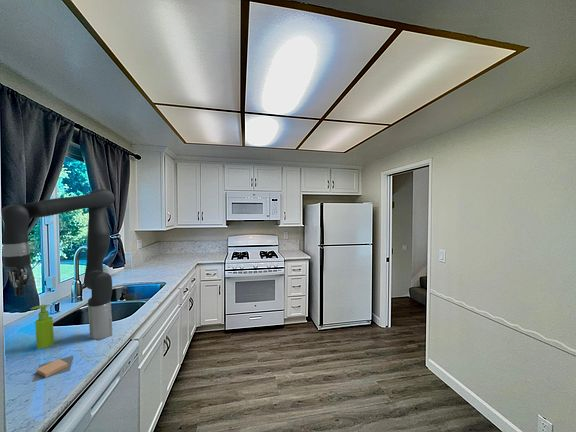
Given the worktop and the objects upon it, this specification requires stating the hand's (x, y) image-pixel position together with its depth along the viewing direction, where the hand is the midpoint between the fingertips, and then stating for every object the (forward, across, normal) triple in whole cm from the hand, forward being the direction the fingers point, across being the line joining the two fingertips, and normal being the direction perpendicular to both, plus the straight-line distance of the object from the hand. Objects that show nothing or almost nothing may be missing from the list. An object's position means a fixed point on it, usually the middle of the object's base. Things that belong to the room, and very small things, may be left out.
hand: (19, 295), depth 103 cm
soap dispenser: (+31, -11, +11) cm, 34 cm away
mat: (+30, +14, +4) cm, 34 cm away
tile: (+29, +11, +3) cm, 31 cm away
